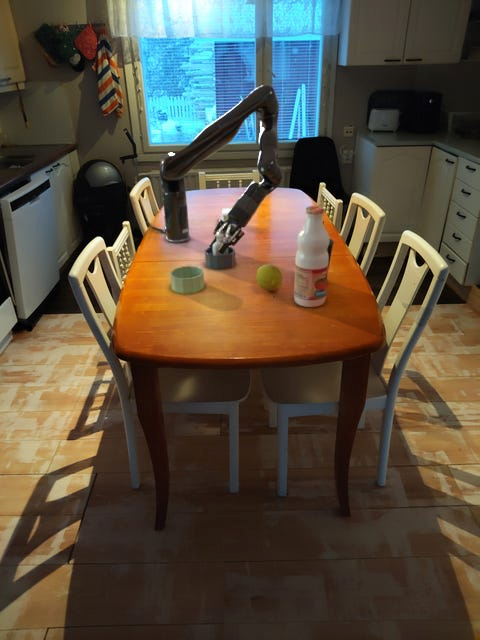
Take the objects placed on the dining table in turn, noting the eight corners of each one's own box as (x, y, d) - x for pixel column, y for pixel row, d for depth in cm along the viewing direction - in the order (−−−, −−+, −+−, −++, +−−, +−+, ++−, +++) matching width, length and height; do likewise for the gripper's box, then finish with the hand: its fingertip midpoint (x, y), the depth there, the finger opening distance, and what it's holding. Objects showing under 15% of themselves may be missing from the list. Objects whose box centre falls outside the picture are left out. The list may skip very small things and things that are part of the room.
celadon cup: (166, 285, 149) (164, 271, 147) (193, 277, 155) (192, 263, 152) (182, 296, 142) (181, 281, 140) (210, 287, 147) (209, 273, 145)
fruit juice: (297, 292, 143) (301, 202, 129) (327, 295, 140) (334, 204, 127) (290, 305, 135) (294, 211, 122) (322, 309, 133) (330, 214, 119)
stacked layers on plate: (238, 225, 203) (237, 213, 200) (217, 225, 203) (217, 213, 200) (238, 218, 212) (238, 207, 209) (219, 219, 212) (218, 207, 209)
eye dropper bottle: (212, 262, 166) (211, 230, 160) (228, 260, 167) (227, 228, 161) (213, 266, 162) (212, 233, 157) (229, 265, 163) (228, 232, 157)
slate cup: (200, 263, 166) (199, 250, 163) (223, 256, 171) (223, 243, 168) (216, 272, 158) (216, 258, 156) (240, 264, 164) (240, 251, 161)
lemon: (285, 295, 141) (286, 271, 138) (260, 297, 140) (260, 273, 136) (277, 280, 151) (277, 258, 147) (253, 283, 150) (253, 260, 146)
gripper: (261, 221, 158) (232, 262, 158) (239, 212, 168) (212, 249, 169) (248, 209, 153) (218, 250, 153) (226, 200, 163) (198, 238, 164)
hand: (215, 250), depth 161 cm, fingers open, 5 cm apart
